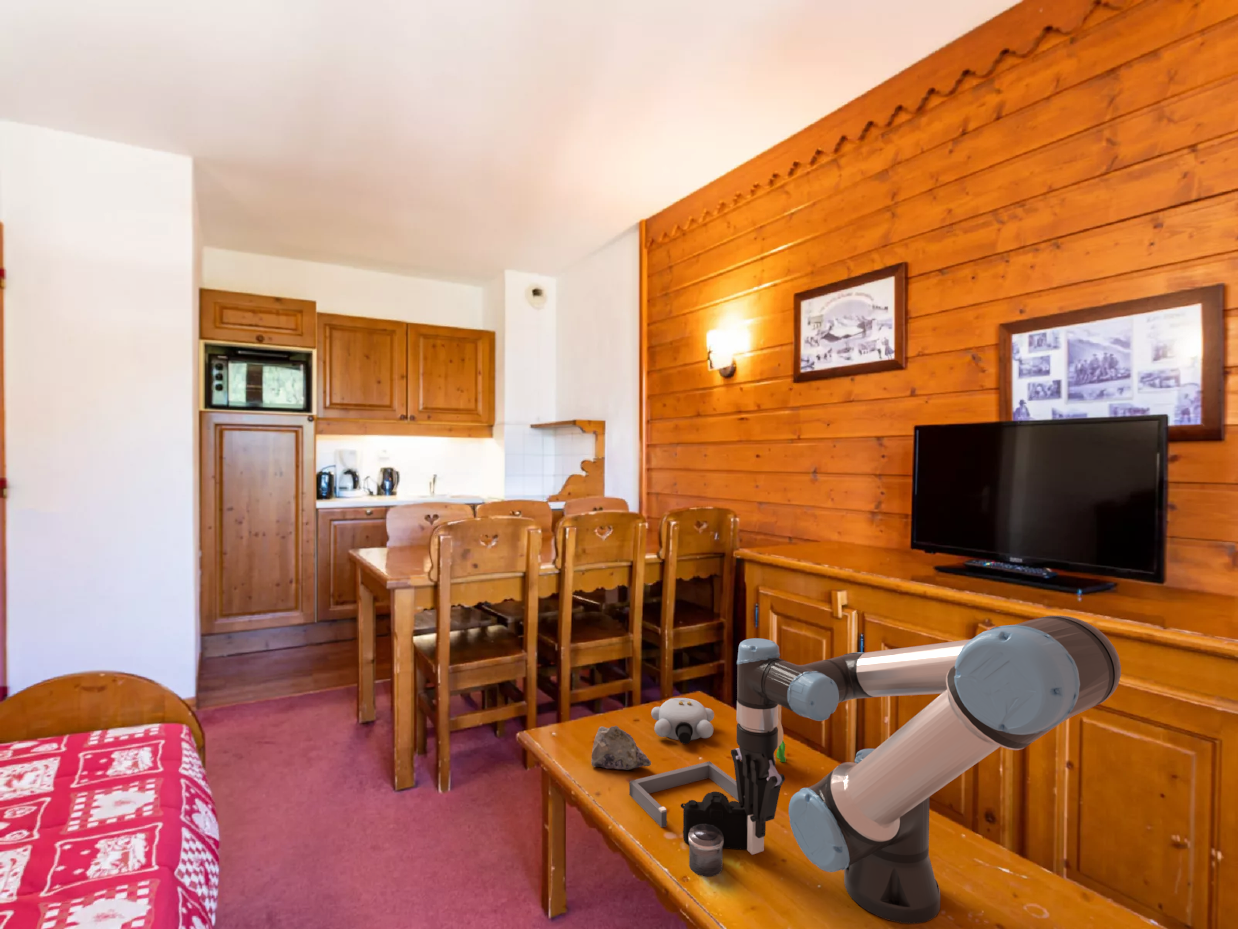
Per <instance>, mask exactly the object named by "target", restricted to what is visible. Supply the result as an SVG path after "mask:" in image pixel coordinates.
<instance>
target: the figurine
mask: <svg viewBox="0 0 1238 929" xmlns="http://www.w3.org/2000/svg"><path fill="white" fill-rule="evenodd" d="M650 714H651V717H652V719H653V720H655V721H656V722H655V724H654V732H655V734H656V735H657V736H658V737H662V738H665V737H667V738H669V739H672V740H676V741H679V743H681V744H682V745H687V744H689V743H690V742H691V741H695V740H697V739H700V738H702V739H709V738H710V737H711V736H713V733H714V726H713V724H712V723H711V721H713V719H714V717H715V712H714V710H712V709H711V708H710V707H709V708H708V707H705V706H704V705H703V704H702V703H701V702H699V701H697V700H696V699H692V698H688V697H687V698H686V697H675V698H668V700H665V702H663V703H662V704H661V706H655V707H653V708H652V709H651V713H650Z"/></svg>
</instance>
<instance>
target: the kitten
mask: <svg viewBox="0 0 1238 929" xmlns="http://www.w3.org/2000/svg"><path fill="white" fill-rule="evenodd" d="M782 725H783V724H782V706H781V705H779V704H778V725H777V726H776V727H777V728H778V746H777V748H776V750H777V751H776V754H774V760H775V763H776V761H777V760H776V759H778V760H779V763H786V761H787V758H786V756H785V755H786V753H785V752H786V744H785V741H784V728H783V726H782Z"/></svg>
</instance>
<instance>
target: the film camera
mask: <svg viewBox="0 0 1238 929" xmlns="http://www.w3.org/2000/svg"><path fill="white" fill-rule="evenodd" d="M680 808H682V809H683V812H682V813H683V816H682V817H683V819H682V821H683V824H682V825H683V826H682V827H683V829H682V830H683V831H682V837H683V838H682V839H683V842H684V843H686V844H687V845H689V841H688V834H689V831H690V829H691V828H692V827H693V826H695V825H698V824H709V825H713V826H715V827H717V828H719V829H720V830H721V832H722V835H723V837H724V844H723V846H722V849H733V850H746V851H747V832H748V829H747V826H746V823H747V822H746V821H747V820H746V812H745V809H744V806H743V805H742V806H741V805H740V804H739V801H738V800H731V801H730V800H729V798H728V797H727V796H726V795H725V794H724V793H723V792H720V791H711V792H708V793H706V794H705V795H704V797H703V799H702V801H697V800H696V799H695V800H694V799H690V800H688V802H686V803H685V802H684V803H681V804H680Z"/></svg>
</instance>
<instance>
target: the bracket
mask: <svg viewBox="0 0 1238 929" xmlns="http://www.w3.org/2000/svg"><path fill="white" fill-rule="evenodd" d="M706 779H710V780H711V781H712V782H713V783H715V784H716V785H717V786H718V787H720V788H721V789H722V790H724V791H725V792H727V793H728V794H729V795H730V796H732V798H734V799H735V800H736V801H737V802H739V800H738V792H737V784H736V779H734V778H733V777H732V776H730V775H728V774H727V773H726V772H725V771H723V770H722V769H721V768H720V767H718V766H717V765H715V764H714V763H712V762H711V761H704V762H702V763H697V764H692V765H689V766H685V767H682V768H677V769H673V770H670V771H669V770H668V771H665V772H661V773H657V774H653V775H650V776H649V775H648V776H645V777H640V778H637V779H632V780H629V782H628V783H629V788H628V789H629V796H630V797H631V798H632V799H633V800H634V801H635V803H637V804H638V805H639V806H640V808H642V809H643V810H644V811H645V812H646V813H647V815H648V816H650V818H652V820H653V821H654V822H655V824H657V825H658V826H659V827H660V828H665V827H667V826H668V824H667V811H668V810H667V808H666V807H665V806H662V805H661V804H660V803H658V801H656V799H655V798H653V797H652V795H651V794H653V793H657V792H660V791H664V790H668V789H672V788H676V787H680V786H682V785H687V784H691V783H695V782H699V781H702V780H706ZM744 797H745V796H744Z"/></svg>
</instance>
